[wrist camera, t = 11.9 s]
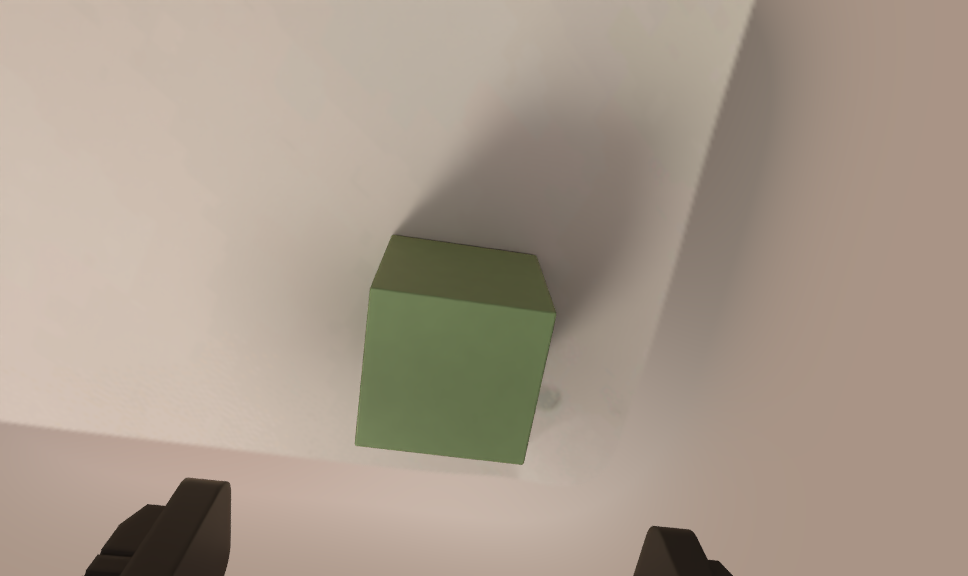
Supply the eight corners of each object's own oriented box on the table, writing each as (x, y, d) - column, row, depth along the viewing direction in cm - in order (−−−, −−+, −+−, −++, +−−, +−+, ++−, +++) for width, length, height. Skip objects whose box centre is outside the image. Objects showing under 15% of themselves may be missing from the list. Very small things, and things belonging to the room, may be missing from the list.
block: (392, 233, 20) (369, 287, 16) (536, 254, 21) (557, 312, 16) (377, 363, 22) (354, 446, 17) (511, 380, 22) (523, 465, 18)
